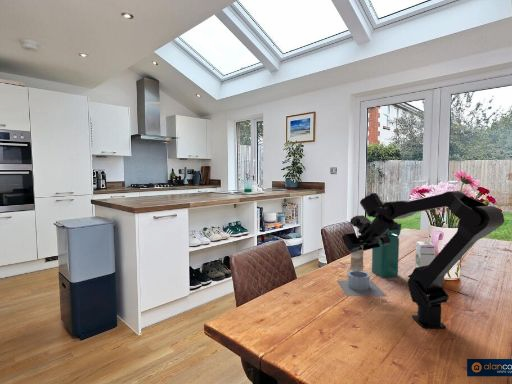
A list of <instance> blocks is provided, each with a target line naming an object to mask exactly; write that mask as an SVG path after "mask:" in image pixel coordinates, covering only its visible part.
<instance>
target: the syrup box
mask: <svg viewBox="0 0 512 384" xmlns="http://www.w3.org/2000/svg"><path fill="white" fill-rule="evenodd" d="M435 257H436V245H435V244H434V243H432V242H431V241H416V242H415V267H414V269H415V268H416V267H421V266H426V265H429V264H430V263H431V262H432V261H433V259H434V258H435Z"/></svg>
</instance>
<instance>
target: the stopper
mask: <svg viewBox="0 0 512 384" xmlns="http://www.w3.org/2000/svg"><path fill="white" fill-rule="evenodd" d="M361 248H362V250H359V251H356V252H353V253H350V271H363V272H364V251H363V246H361Z"/></svg>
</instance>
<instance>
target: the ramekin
mask: <svg viewBox="0 0 512 384" xmlns="http://www.w3.org/2000/svg"><path fill="white" fill-rule="evenodd" d="M346 281H347V285H348V286H349V287H350V288H353V289H357V290H366V289H369V287H370V281H371V275H370V273H368V272H366V271H364V270H363V271H353V270H350V271H347V278H346Z"/></svg>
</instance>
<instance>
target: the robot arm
mask: <svg viewBox="0 0 512 384" xmlns="http://www.w3.org/2000/svg"><path fill="white" fill-rule="evenodd" d="M359 204H360V206H361V207H362V209H363V210H364V211H365V213H366V214H367V216H368V217H371V218H373V219H372V221H371V220H370V219H369V218H368V217H367V216H365V215H354V216H353V217H352V218H351V219H350V222H349V223H350V224H351V226H353V227H355V228H357V229H358V230H357V232H358V235H356V233H355V232H353V231H351V232H344V233H343V234H342V235H341V239H342V240H343V244H345V246H346V248H347V250H348V252H349V254H351V253H353V252H356V251H359V250H362V248H361V246H363V252H364V251H368V250H372V249H373V248H377V247H380V245H379V240H380V239H381V241H382V242H383V243H381V245H382V246H386V245H388V244H389V243H390V238H389V236H388V235H387V233H386V232H387V231H388V230H390V231H395V230H399V227H398V223H399V222H397V221H395V220H397V219H399V220H400V219H406V218H408V217H411V216H413V215H414V214H416V213H419V212H425V211H431V210H436V209H443V208H448V209H449V210H450V212H451V213H452V214H453V216H455V217H456V218H457V219H459V221H458V223H457V230H456V233H454V235H453V236H452V237H450V239H449V241H448V242H447V243H446V245H444V246H443V247H442V249H441V250H440V251H439V252H438V253H437V254H436V255H435V258H434V259H433V261H432V262H431V263H430V264H429V265H426V266H421V267H416V266H415V267H416V268H415V267H414V269H413V271H412V273H411V274H410V275H408V276H407V277H408V280H407V286H408V290H409V293H410V297H411V300H412V302H413V303H415V304H416V306H417V311H416V312H417V315H416V314H412V315H411V316H412V319H413V320H415V321H416V322H417V324H419V325H420V327H422V328H423V329H447V326H446V325H445V323H443V322H442V321H441V320H442V304H446V303H447V302H448V300H449V298H450V296H449V295H448V293H447V292H446V291H445V289H444V288H443V284H444V282H445V276H446V274H448V273H449V272H450V271H451V269H452V268H453V267H454V266H455V265H456V264H457V263H458V262H459V261H460V260H461V258H463V257H464V255H465V254H466V253H467V252H468V251H469V250H470V249H471V248H472V247H473V245H475V243H476V242H477V241H479V240H480V239H483V238H485V237H486V236H488V235H491V233H493V232H494V231H496V230H497V229H498V228H500V227H501V226H502V225H504V224H505V223H504V222H505V217H504V214H503V213H504V212H503V211H502V210H501V209H500V208H498V207H496V206H494V205H488V204H486V203H485V202H483V201H480V200H478V199H475V198H473V197H471V196H468V195H467V194H465V193H463V192H462V191H459V190H451V191H447V190H446V191H444V192H443V193H442V192H441V193H438V194H434V195H429V196H424V197H421V198H416V199H411V200H394V201H393V200H392V201H389V200H388V201H385V202H384V203H383V201H382V200H381V199H380V197H379V195H378V194H377V193H376V192H374V193H373V192H372V193H370V195H369V194H368V195H366V196H365V197H363V198H361V200H360V202H359Z"/></svg>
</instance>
